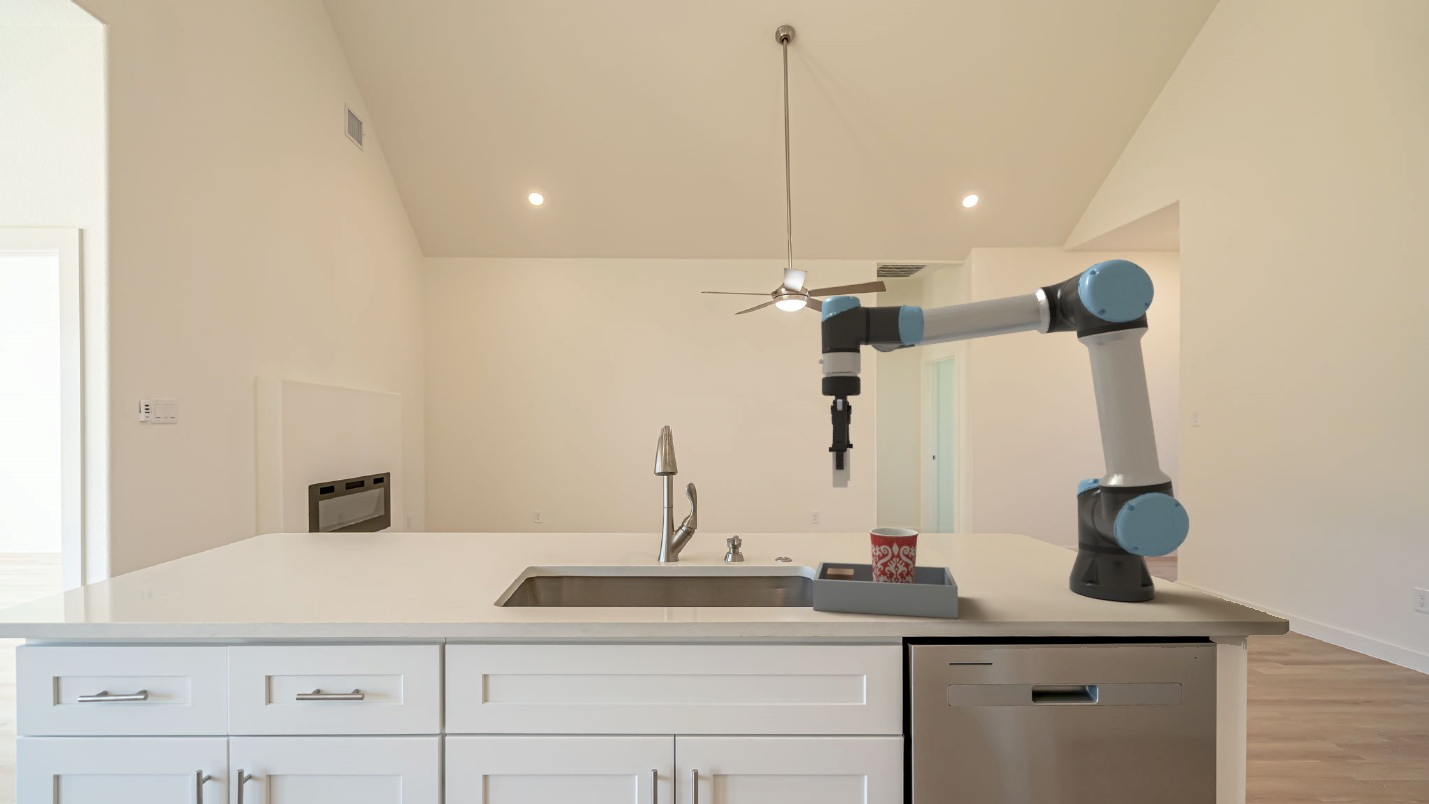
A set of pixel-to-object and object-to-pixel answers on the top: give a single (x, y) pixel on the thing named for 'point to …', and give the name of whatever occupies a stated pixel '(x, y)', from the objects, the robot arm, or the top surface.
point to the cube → (840, 574)
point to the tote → (887, 592)
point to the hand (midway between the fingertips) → (841, 484)
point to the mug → (893, 555)
